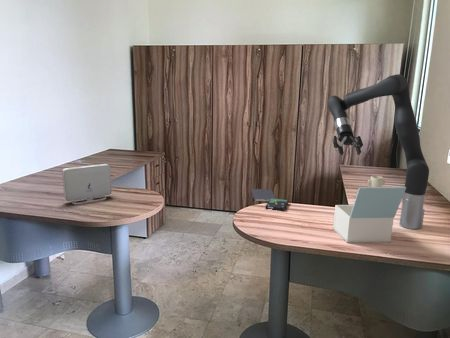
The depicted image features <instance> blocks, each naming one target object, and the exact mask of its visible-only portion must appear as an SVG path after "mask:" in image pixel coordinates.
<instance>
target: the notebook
mask: <svg viewBox="0 0 450 338" xmlns="http://www.w3.org/2000/svg"><path fill="white" fill-rule="evenodd" d="M251 192H252V196H253V200H254V201H255V202H256V201H257V202H262V201H263V202H269V200H270V199H272V198H273V199H277V198H276V197H275V196H276V195H275V194H274V191H273V190H272V189H271V188H270V189H267V188H263V189H260V188H257V189H256V188H252V189H251Z"/></svg>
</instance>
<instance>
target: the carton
mask: <svg viewBox="0 0 450 338" xmlns="http://www.w3.org/2000/svg"><path fill="white" fill-rule="evenodd" d="M353 206H354V204H335V206H334V207H335V208H334V215H333V216H334V217H333V226H332V229H333V230H334V231H335V232H336V234H338V235H339V236H340V238H341V239H343V240H344V241H345V243H347V244H354V243H356V244H361V243H365V244H366V243H367V242H370V243H391V241H392V234H393V226H394V219H395V217H394V218H350V215H351V212H352V209H353Z"/></svg>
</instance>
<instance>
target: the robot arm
mask: <svg viewBox="0 0 450 338" xmlns="http://www.w3.org/2000/svg"><path fill="white" fill-rule="evenodd" d="M388 96H389V97H390V96H391V97H392V100H393V103H394V119H393V120H394V127H395V132H396V134H397V137H398V138H397V139H398V140H399V143H400V145H401V148H402V149H403V152H404V156H405V161H406V176H405V183H404V187H406V190H405V192H404V195H403V197H402V201H401V211H400V216H399V222H398V223H399V226H400V227H402V228H405V229H408V230H420V229H422V228H423V224H424V218H425V217H424V216H425V211H426V210H425V208H424V204H425V197H426V193H427V191H426V190H427V188H428V180H429V176H430V168H429V166H428V164H427V161H426V158H425V157H424V154H423V151H422V147H421V137H420V133H419V132H420V131H419V127H418V124H417V119H416V117H415V116H416V115H415V113H414V110H413V105H412V103H411V97H410V89H409V84H408V80H407V78H406V76H404V75H402V74H400V73H399V74H398V73H397V74H392V75H389V76H387V77H386V78H384V79H382V80H381V81H379V82H376V83H375V84H373V85H369V86H367V87H363V88H360V89H357V90H354V91H352V92H351V91H350V92H348V93H346V94H345V95H344V98H340V97H339V96H338V95H332V96H330V97H329V98H328V100H327V107H328V110H329V112H330V114H331V115H332V118H333V122H334V124H335V125H334V126H335V131H336V134H337V135H334V136H333V137H332V144H333V147H334V149H338V153H339V154H340V156H344V149H343V145H344V146H351V147H352V148H355V151H356V154H357V156H360V155H361V153H362V147H363V146H364V143H363V140H362V138H361V136H360V135H358V136H355V135H354V132H353V128H352V126H351V125H352V124H351V121H350V120H349V117H348V113H347V112H346V111H348V109H350V108H352V107H353V106H357V105H361V104H363V103H366V102H368V101H370V100H374V99H377V98H381V97H388ZM338 141H339V144H338Z"/></svg>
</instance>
